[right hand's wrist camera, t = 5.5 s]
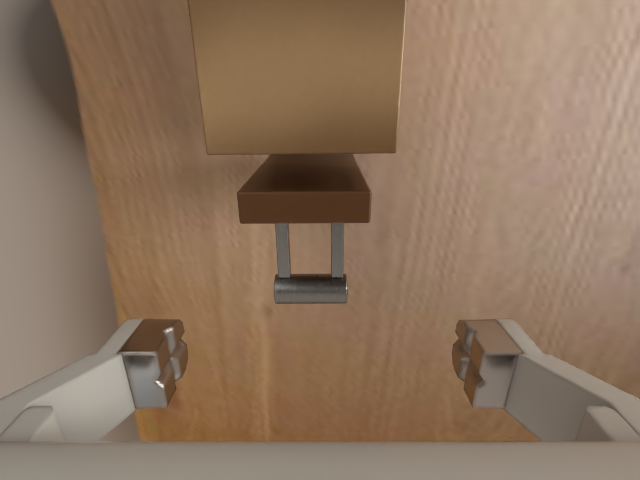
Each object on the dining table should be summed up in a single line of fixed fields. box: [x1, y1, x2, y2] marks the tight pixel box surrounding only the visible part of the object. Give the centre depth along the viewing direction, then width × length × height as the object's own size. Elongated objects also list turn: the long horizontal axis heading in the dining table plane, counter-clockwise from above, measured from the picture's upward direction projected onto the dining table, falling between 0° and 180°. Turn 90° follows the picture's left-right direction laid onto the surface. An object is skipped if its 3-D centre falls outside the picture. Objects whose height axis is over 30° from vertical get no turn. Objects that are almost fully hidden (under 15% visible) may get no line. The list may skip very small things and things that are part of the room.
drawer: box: [237, 154, 371, 304], centre depth 15 cm, size 24×5×9 cm, turn 1°
